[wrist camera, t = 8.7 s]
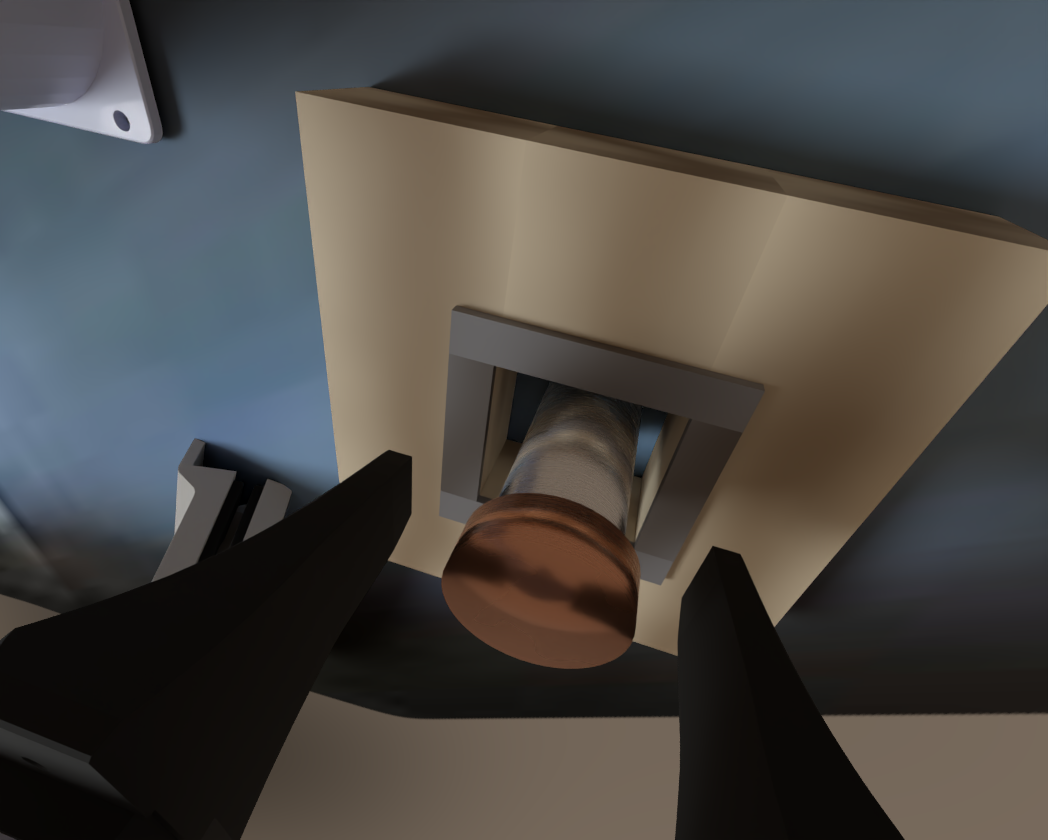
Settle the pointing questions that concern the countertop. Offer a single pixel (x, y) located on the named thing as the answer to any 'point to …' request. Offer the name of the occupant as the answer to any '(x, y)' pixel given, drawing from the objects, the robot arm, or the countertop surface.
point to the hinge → (216, 512)
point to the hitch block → (644, 326)
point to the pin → (556, 539)
